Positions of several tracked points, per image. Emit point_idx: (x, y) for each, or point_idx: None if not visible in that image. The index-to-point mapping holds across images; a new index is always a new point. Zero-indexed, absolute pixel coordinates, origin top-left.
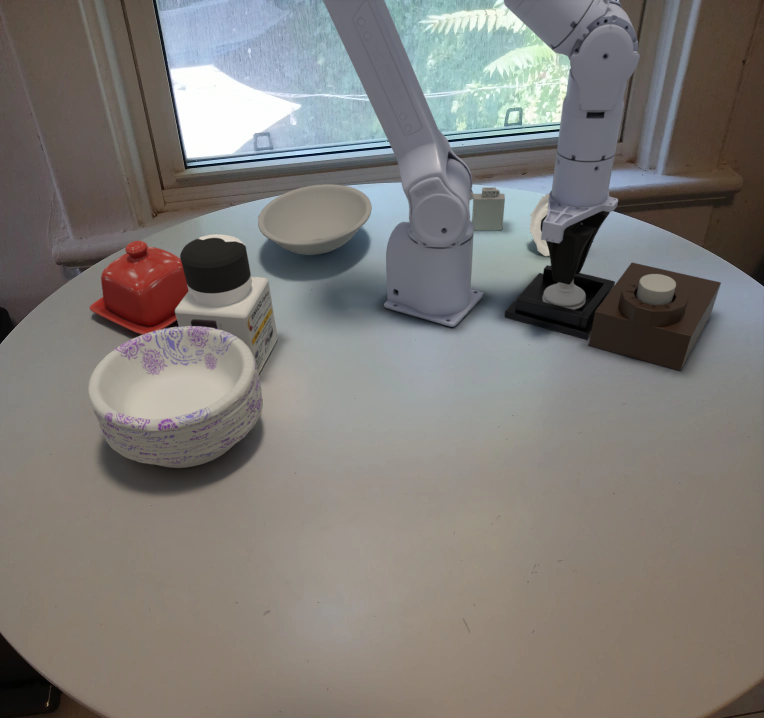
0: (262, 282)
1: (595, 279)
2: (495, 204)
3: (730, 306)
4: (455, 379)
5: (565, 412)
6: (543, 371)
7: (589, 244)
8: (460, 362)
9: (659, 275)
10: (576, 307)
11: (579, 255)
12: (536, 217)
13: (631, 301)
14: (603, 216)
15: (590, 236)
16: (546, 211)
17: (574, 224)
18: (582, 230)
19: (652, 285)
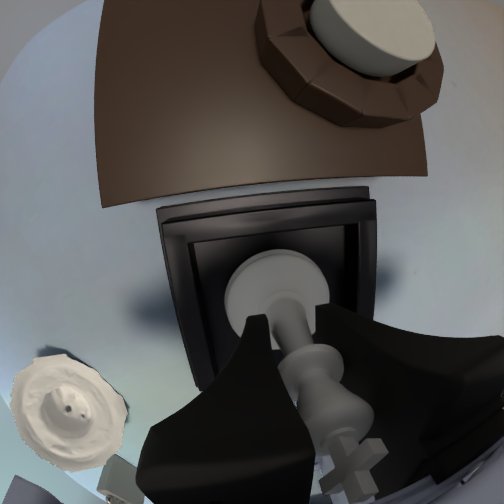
0: (477, 468)
1: (185, 274)
2: (118, 490)
3: (84, 27)
4: (486, 300)
5: (493, 152)
6: (457, 214)
7: (273, 359)
8: (465, 319)
9: (342, 3)
10: (303, 256)
11: (405, 332)
12: (95, 453)
13: (434, 82)
14: (311, 451)
15: (442, 359)
16: (75, 449)
17: (489, 430)
18: (486, 393)
19: (412, 22)
